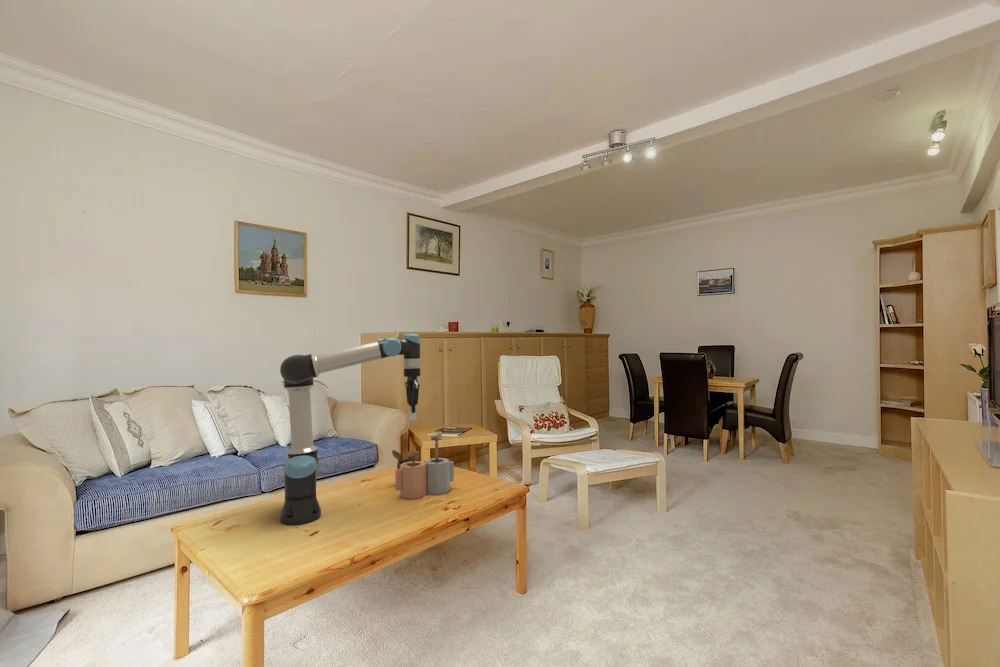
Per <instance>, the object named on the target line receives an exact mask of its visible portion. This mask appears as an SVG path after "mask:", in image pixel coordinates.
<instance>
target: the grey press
mask: <svg viewBox="0 0 1000 667" xmlns="http://www.w3.org/2000/svg"><path fill="white" fill-rule="evenodd" d="M423 462H424V463H426V464H427V494H426V495H431V496H437V495H438V496H439V495H445V494H447V493H449V491H450V490H451V483H452V482H454V481H455V480H454V479H455V478H454V476H455V475H454V474H455V473H454V472H455V471H454V470H455V468H454V466H455V465H454V464H455V462H454V461H451V460H450V459H448V458H444V457H438V463H435V457H433V458H427V459H426V460H424V461H423Z"/></svg>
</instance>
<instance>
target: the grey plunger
mask: <svg viewBox="0 0 1000 667" xmlns="http://www.w3.org/2000/svg"><path fill="white" fill-rule="evenodd" d="M430 436H431V437H430V439H431V441H434V447H435V450H434V451H435V452H434V458H435V463H438V458H439V441H442V440H443V432H442V431H431V432H430Z"/></svg>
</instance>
